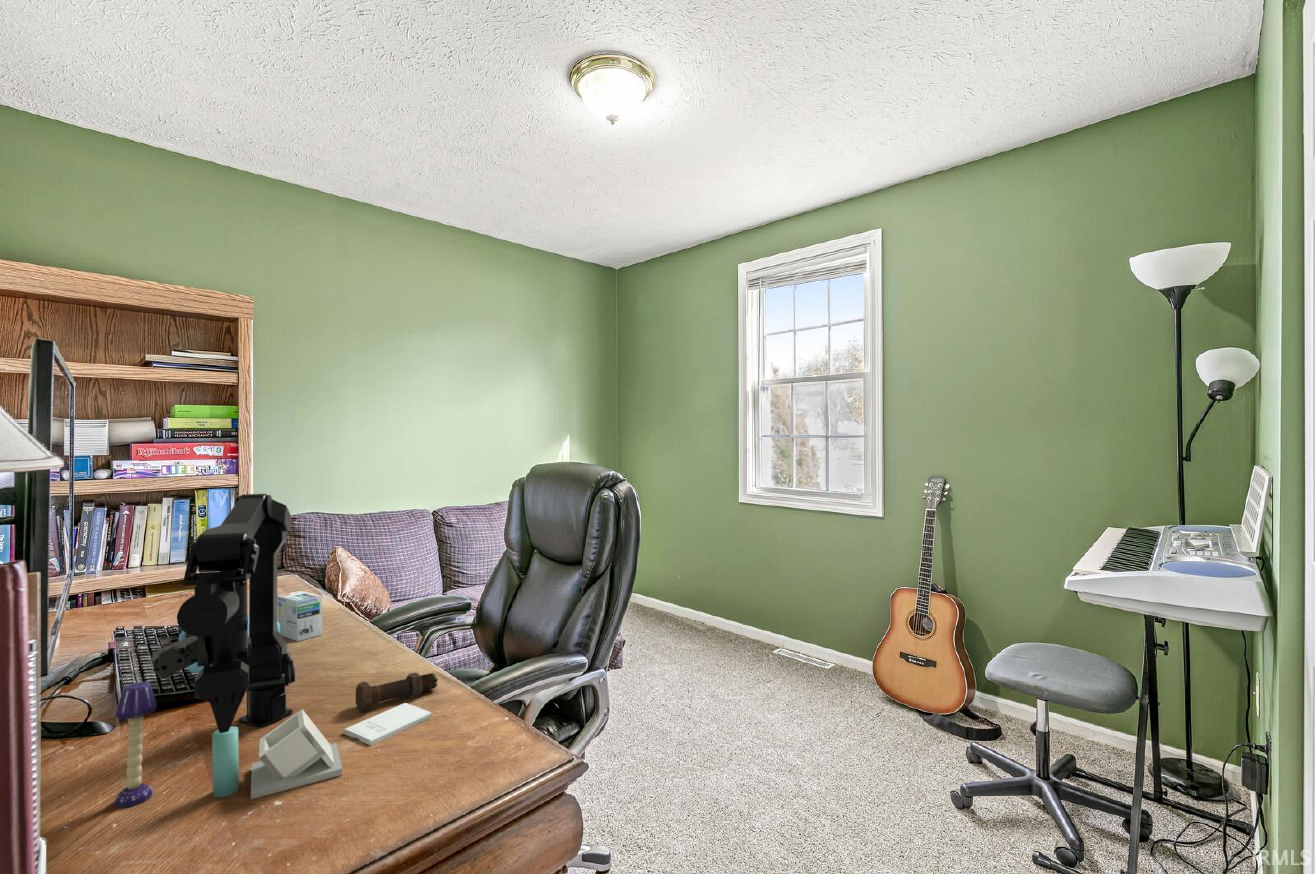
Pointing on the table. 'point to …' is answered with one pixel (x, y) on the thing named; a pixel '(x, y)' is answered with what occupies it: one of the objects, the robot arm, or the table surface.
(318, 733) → the socket
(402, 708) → the external hard drive
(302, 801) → the table surface
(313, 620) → the light bulb box
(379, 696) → the bolt
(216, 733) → the dowel
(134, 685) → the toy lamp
